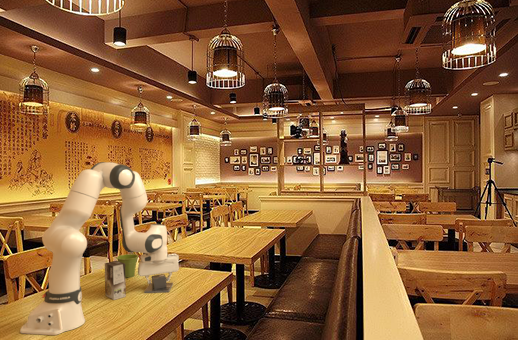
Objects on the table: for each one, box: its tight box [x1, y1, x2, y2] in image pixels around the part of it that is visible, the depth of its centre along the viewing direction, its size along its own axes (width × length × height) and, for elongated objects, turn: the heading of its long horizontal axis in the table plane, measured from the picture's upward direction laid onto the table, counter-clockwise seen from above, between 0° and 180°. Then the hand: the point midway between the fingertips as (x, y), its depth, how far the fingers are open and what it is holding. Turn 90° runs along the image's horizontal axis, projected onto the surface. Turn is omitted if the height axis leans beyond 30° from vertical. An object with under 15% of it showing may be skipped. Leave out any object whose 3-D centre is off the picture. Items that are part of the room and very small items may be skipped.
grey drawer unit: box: [151, 273, 167, 289], centre depth 192 cm, size 6×6×6 cm
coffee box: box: [104, 260, 127, 301], centre depth 182 cm, size 9×6×16 cm
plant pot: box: [116, 253, 140, 279], centre depth 213 cm, size 12×12×11 cm
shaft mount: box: [143, 282, 174, 294], centre depth 192 cm, size 12×12×4 cm
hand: (158, 282), depth 192 cm, fingers open, 8 cm apart
